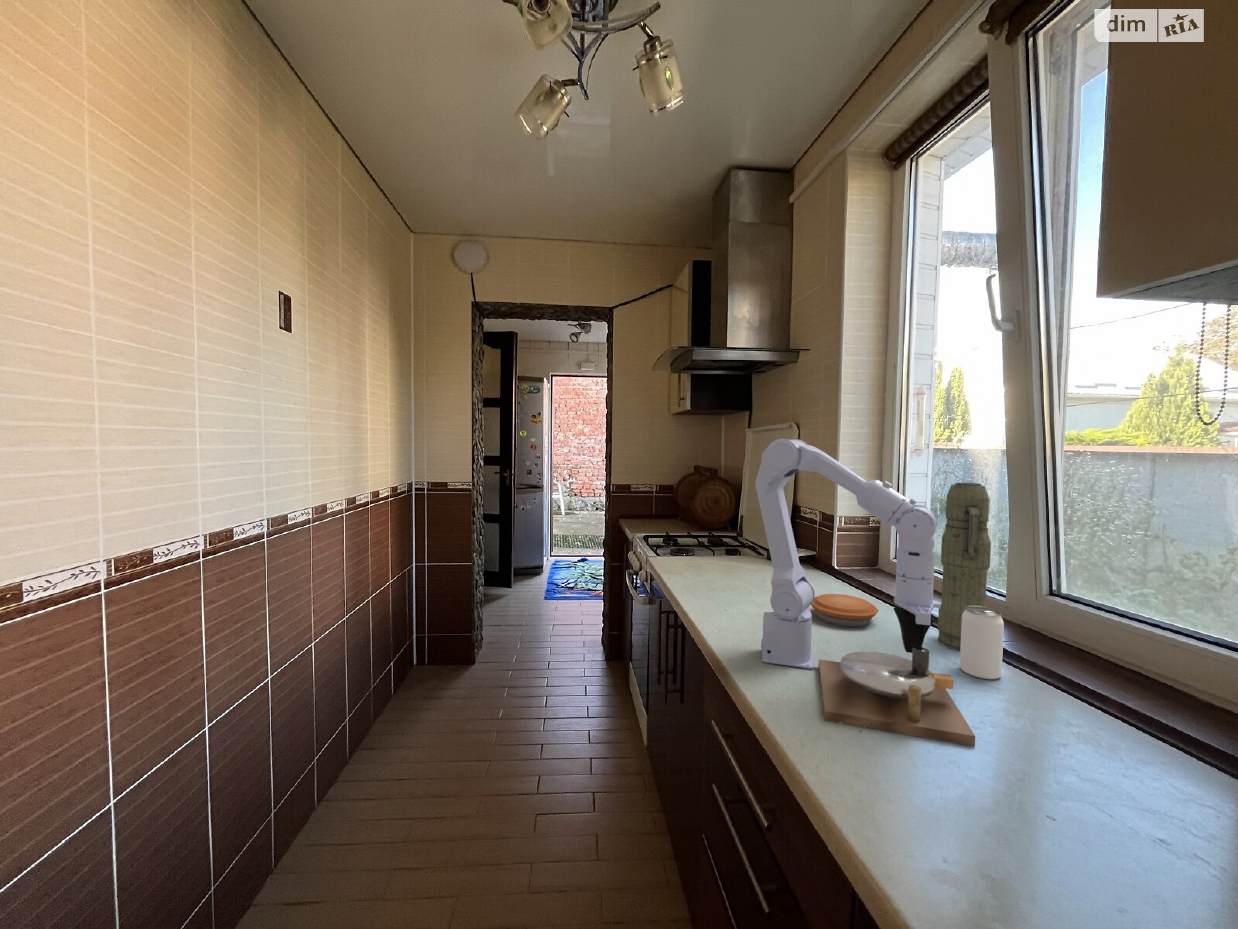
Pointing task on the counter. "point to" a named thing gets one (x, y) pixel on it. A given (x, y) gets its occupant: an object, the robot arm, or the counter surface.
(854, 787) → the counter surface
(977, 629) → the can
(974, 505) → the thermos
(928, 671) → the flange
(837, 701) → the base board
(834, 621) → the pie
